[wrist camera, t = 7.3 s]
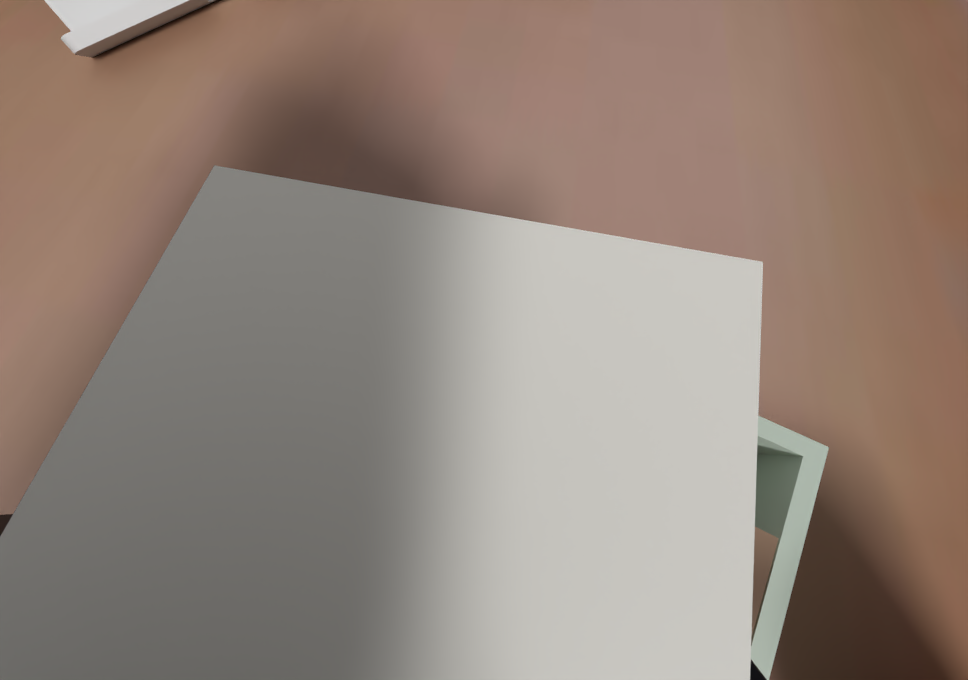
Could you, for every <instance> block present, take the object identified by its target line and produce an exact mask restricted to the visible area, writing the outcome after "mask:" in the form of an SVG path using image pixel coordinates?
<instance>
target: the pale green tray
mask: <svg viewBox="0 0 968 680" xmlns="http://www.w3.org/2000/svg"><path fill="white" fill-rule="evenodd" d="M828 449H829V447H827V446H825V445H823V444H820V443H818V442H816V441H814V440H812V439H809V438H807V437H805V436H803V435H800V434H798V433H796V432H794V431H791V430H789V429H787V428H785V427H782V426H780V425H778V424H776V423H774V422H771V421H769V420H767V419H765V418H762V417H760V416H758V439H757V472H756V504H755V527H757V528H759V529H761V530H763V531H765V532H767V533H769V534H771V535H773V536H775V537H777V538H779V539H778V543H777V546H776V550H775V553H774V557H773V561H772V564H771V568H770V572H769V575H768V579H767V583H766V586H765V590H764V593H763V597H762V601H761V604H760V608H759V612H758V615H757V619H756V623H755V626H754V630H753V633H752V637H751V660H752V661H753V662H754V664H755V665H756V666H757V668H758V669H759V670H760V671H761V673H762V674H763V675H764V677H765V678H766V679H767V680H769V677H770V674H771V670H772V666H773V662H774V658H775V654H776V650H777V646H778V643H779V639H780V635H781V631H782V627H783V623H784V619H785V615H786V612H787V608H788V604H789V600H790V596H791V592H792V588H793V584H794V581H795V577H796V573H797V569H798V565H799V561H800V557H801V553H802V550H803V546H804V542H805V538H806V534H807V530H808V526H809V522H810V519H811V515H812V511H813V507H814V503H815V499H816V495H817V491H818V488H819V484H820V480H821V476H822V472H823V468H824V464H825V461H826V457H827V453H828Z"/></svg>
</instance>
